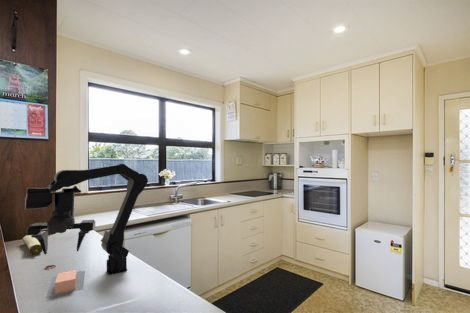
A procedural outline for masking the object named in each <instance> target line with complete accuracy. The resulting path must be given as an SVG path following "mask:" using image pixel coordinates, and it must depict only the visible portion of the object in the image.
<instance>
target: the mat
mask: <svg viewBox="0 0 470 313" xmlns="http://www.w3.org/2000/svg"><path fill="white" fill-rule="evenodd" d="M85 273H86V270H82V271H77V282H76V288H75V290H71V291H67V292H62V293H58V294H55V281H56V278H57V275H56V276H53V277H52V279H51V282H50V284H49V287H48V289H47V293H46V295H45V299H48V298H51V297H56V296H59V295H64V294H69V293H73V292H76V291H80V290H84V283H85V276H86V275H85Z"/></svg>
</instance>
